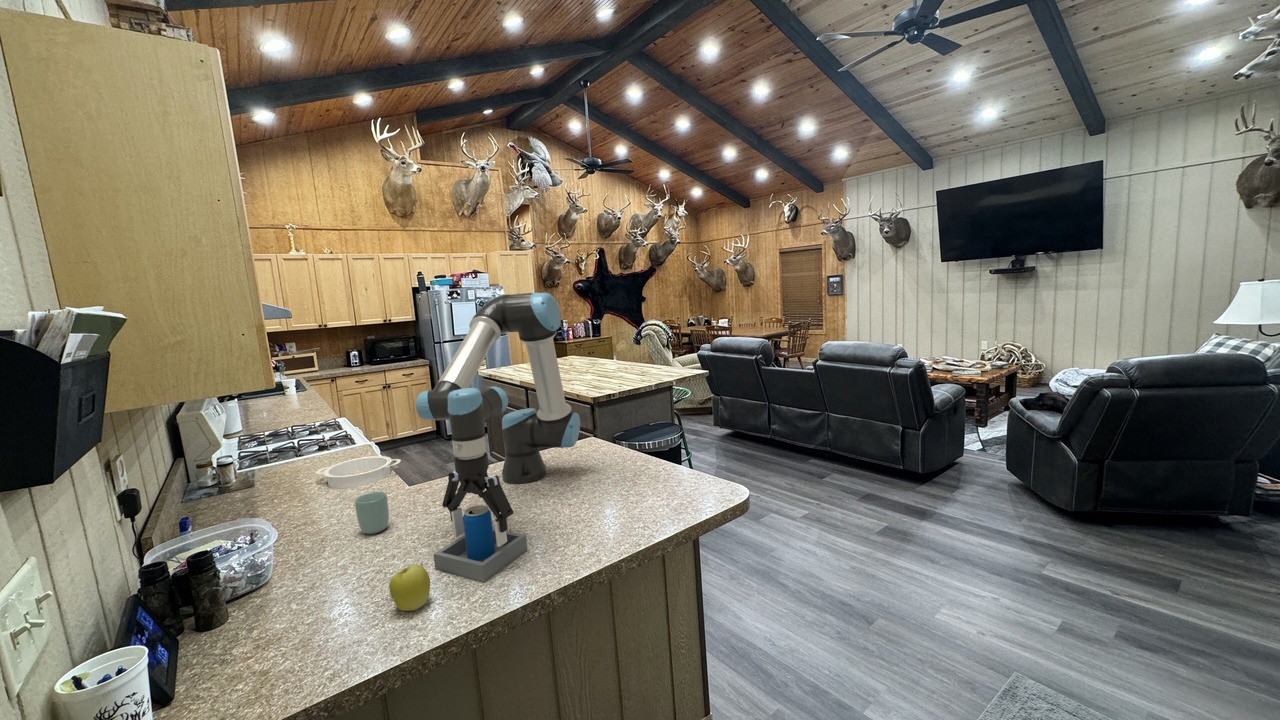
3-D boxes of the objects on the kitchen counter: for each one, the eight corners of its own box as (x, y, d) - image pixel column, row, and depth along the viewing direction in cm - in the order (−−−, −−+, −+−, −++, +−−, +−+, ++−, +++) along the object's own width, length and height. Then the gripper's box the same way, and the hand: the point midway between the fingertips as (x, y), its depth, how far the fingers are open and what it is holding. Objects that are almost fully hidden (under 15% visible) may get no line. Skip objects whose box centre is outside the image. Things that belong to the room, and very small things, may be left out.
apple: (444, 594, 110) (425, 558, 107) (410, 623, 105) (389, 587, 102) (427, 582, 116) (408, 548, 112) (394, 609, 110) (373, 574, 107)
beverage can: (466, 553, 128) (461, 507, 126) (493, 547, 130) (489, 502, 129) (468, 566, 122) (462, 518, 120) (496, 559, 124) (491, 512, 123)
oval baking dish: (409, 464, 204) (408, 452, 204) (392, 484, 182) (391, 471, 182) (331, 472, 200) (329, 460, 199) (304, 494, 178) (302, 481, 177)
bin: (481, 540, 136) (479, 525, 136) (527, 550, 129) (525, 534, 129) (435, 569, 123) (433, 553, 122) (484, 582, 116) (482, 565, 115)
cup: (396, 525, 148) (392, 492, 147) (376, 538, 141) (371, 503, 140) (374, 523, 151) (369, 490, 149) (353, 536, 143) (348, 501, 142)
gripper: (420, 454, 125) (431, 538, 128) (500, 465, 113) (510, 556, 116) (444, 445, 131) (454, 524, 134) (523, 454, 120) (531, 540, 123)
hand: (480, 539), depth 125 cm, fingers open, 13 cm apart
